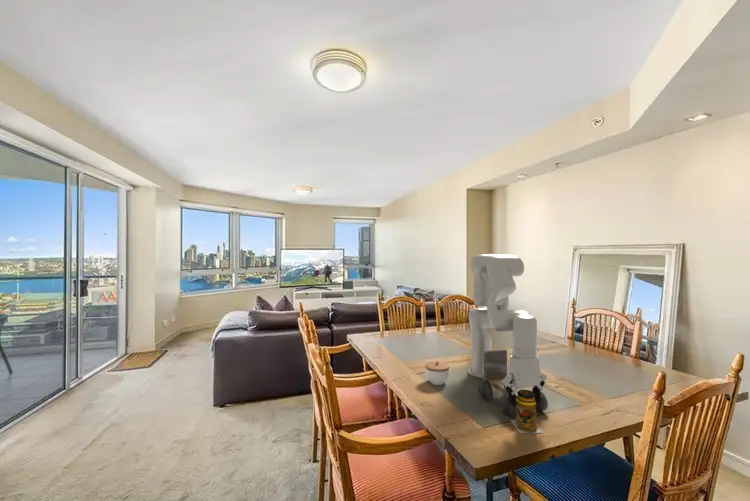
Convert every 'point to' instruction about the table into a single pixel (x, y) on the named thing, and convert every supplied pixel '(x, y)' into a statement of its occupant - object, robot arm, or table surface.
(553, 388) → the table surface
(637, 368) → the table surface
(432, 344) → the table surface
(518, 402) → the condiment
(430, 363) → the lidded jar
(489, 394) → the trolley
